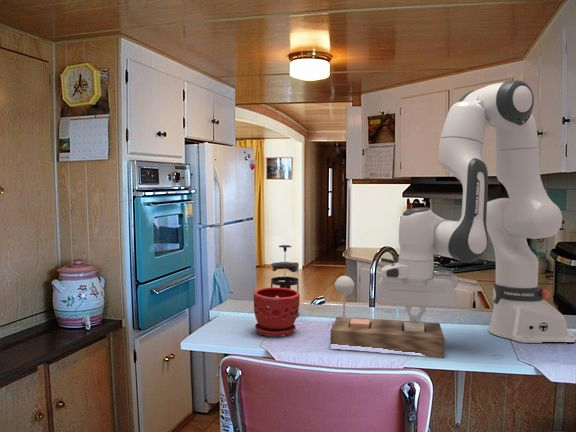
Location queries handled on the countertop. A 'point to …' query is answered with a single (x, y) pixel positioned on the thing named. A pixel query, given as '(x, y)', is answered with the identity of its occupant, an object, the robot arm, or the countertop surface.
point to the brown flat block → (390, 336)
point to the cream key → (413, 327)
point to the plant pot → (276, 310)
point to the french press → (287, 280)
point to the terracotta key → (360, 323)
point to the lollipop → (344, 288)
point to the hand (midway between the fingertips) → (415, 322)
